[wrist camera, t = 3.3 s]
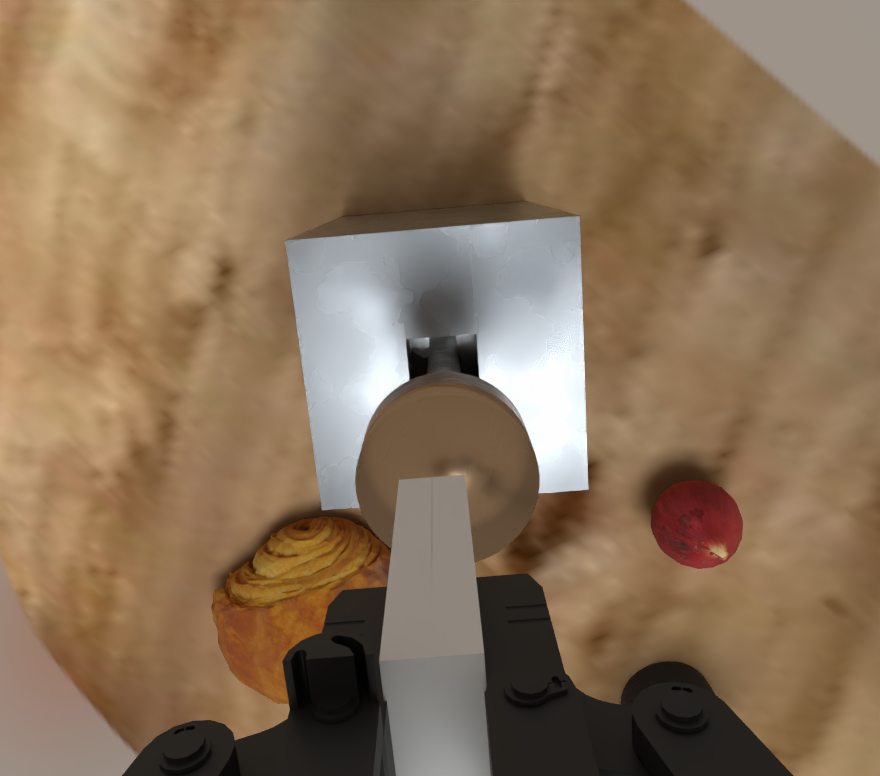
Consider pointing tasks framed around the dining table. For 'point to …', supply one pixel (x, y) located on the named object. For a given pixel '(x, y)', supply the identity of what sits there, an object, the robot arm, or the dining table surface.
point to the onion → (697, 524)
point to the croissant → (291, 595)
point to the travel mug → (662, 679)
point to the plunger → (450, 445)
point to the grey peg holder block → (442, 323)
